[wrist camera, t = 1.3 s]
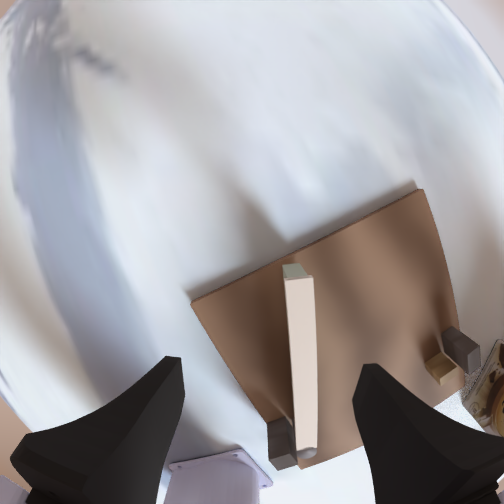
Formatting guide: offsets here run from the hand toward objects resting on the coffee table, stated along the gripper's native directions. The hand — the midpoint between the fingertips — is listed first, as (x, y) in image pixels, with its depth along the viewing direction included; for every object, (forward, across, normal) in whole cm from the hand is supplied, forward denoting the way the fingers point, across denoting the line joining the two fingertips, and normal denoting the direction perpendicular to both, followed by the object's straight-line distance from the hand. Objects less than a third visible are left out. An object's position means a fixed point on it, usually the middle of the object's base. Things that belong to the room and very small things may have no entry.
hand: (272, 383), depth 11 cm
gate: (+10, -3, +6) cm, 12 cm away
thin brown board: (+11, -8, +7) cm, 16 cm away
